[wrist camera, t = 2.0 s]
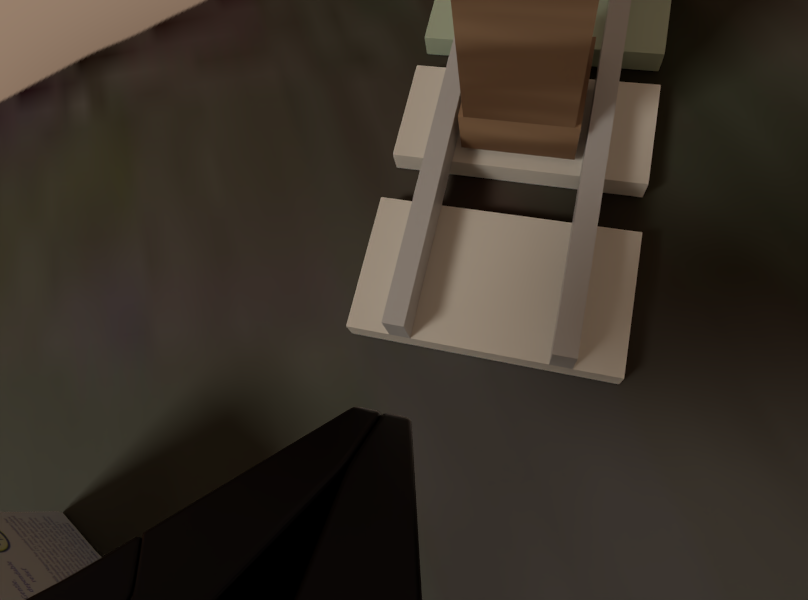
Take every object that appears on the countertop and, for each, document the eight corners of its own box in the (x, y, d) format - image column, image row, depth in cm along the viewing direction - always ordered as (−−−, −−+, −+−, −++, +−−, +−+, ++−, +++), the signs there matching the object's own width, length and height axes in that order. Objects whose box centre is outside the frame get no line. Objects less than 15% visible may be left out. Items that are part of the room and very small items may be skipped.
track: (618, 384, 21) (640, 362, 17) (352, 333, 23) (327, 305, 20) (673, -47, 26) (697, -125, 23) (456, -54, 28) (450, -126, 25)
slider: (574, 159, 22) (622, -75, 13) (461, 147, 23) (434, -79, 14) (589, 74, 23) (642, -196, 14) (480, 65, 24) (466, -192, 15)
